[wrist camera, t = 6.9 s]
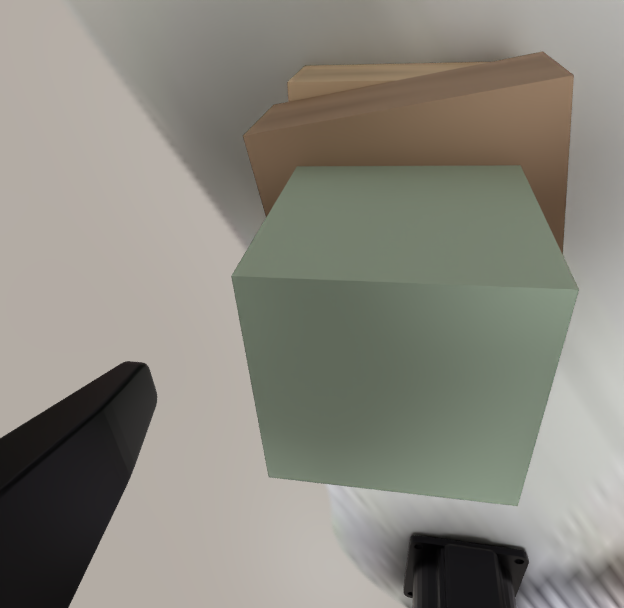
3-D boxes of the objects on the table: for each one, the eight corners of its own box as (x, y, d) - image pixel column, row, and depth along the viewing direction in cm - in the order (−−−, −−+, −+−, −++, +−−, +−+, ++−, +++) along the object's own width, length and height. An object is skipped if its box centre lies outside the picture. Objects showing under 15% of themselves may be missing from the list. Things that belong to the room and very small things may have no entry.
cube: (489, 343, 14) (517, 506, 10) (311, 332, 15) (268, 476, 11) (520, 165, 11) (579, 289, 7) (297, 166, 12) (231, 275, 8)
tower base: (498, 262, 19) (510, 307, 16) (316, 254, 20) (302, 295, 17) (537, 58, 15) (560, 77, 12) (307, 63, 16) (287, 81, 14)
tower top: (535, 290, 16) (556, 350, 13) (323, 307, 18) (308, 363, 15) (543, 51, 12) (573, 75, 10) (273, 104, 14) (242, 135, 12)
